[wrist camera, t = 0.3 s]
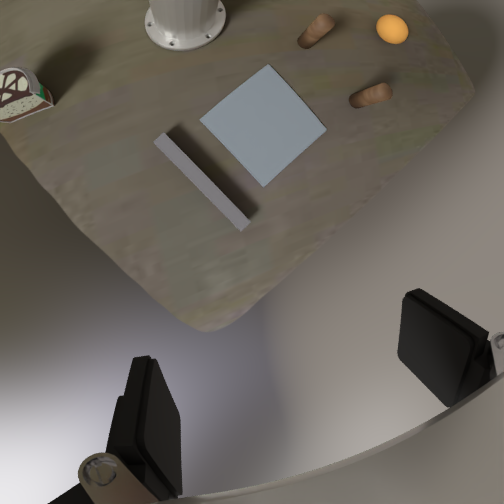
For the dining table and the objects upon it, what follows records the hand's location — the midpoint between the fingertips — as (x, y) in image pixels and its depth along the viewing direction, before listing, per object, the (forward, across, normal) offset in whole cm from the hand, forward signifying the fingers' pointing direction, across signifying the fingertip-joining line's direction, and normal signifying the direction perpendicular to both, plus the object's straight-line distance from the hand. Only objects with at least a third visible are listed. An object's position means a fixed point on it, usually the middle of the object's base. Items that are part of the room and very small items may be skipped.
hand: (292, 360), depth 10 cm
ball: (+34, -35, -29) cm, 57 cm away
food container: (+37, +28, -26) cm, 53 cm away
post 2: (+37, -25, -15) cm, 47 cm away
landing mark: (+37, -9, -12) cm, 40 cm away
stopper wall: (+37, +2, -5) cm, 37 cm away
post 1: (+37, -18, -26) cm, 49 cm away
